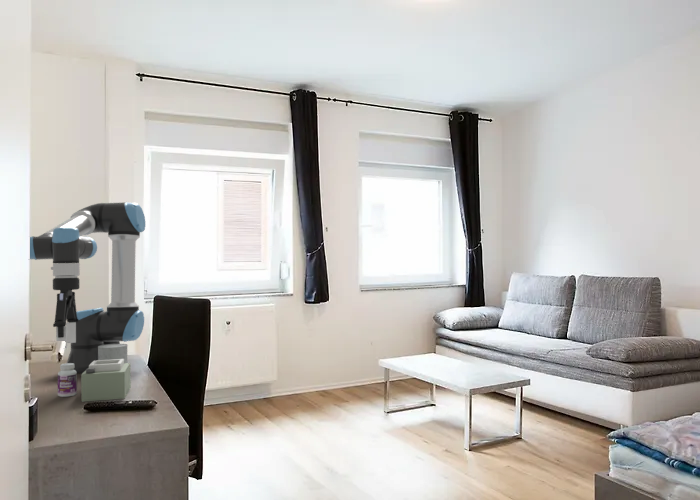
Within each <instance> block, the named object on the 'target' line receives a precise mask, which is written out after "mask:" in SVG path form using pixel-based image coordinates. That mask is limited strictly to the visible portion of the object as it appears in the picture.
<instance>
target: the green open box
mask: <svg viewBox="0 0 700 500" xmlns="http://www.w3.org/2000/svg"><path fill="white" fill-rule="evenodd" d="M80 374H81V375H80V376H81V381H80V383H81V385H80V386H81V389H80V390H81V402H83V403H84V402H94V401H95V402H96V401H97V402H98V401H108V400H109V401H110V400H122V399H123V400H124V399H126V397H127V396H128V394H129V391H130V389H131V387H132V386H131V383H132V382H131V381H132V380H131V362H128V363H124V359H113V360H96V361H93V362H92V363H91V364H90V365H89V368H88V369H86V370H85V371H84V372H82V373H80Z"/></svg>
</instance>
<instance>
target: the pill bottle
mask: <svg viewBox="0 0 700 500" xmlns="http://www.w3.org/2000/svg"><path fill="white" fill-rule="evenodd" d="M59 368H60V370H59V371H58V373H57V396H58V397H61V398H66V397H72V396H73V397H74V396H76V395H77V392H78V389H77V388H78V386H77V385H78V379H77V378H78V376H77V375H78V373H77V372H76V370H73V369H74V363H67V362H65V363H61V364H60V365H59Z"/></svg>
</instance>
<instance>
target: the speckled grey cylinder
mask: <svg viewBox="0 0 700 500" xmlns="http://www.w3.org/2000/svg"><path fill="white" fill-rule="evenodd" d="M128 346H129V345H128V344H127V343H120V344H107V345H101V346H98V360H113V359H124V363H129V362H128V361H129V360H128Z"/></svg>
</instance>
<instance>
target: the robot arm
mask: <svg viewBox="0 0 700 500" xmlns="http://www.w3.org/2000/svg"><path fill="white" fill-rule="evenodd" d="M145 229H146V217H145V214H144V210H143V208H142V206H141V205H140V204H139V203H137V202H129V201H128V202H127V201H126V202H100V203H94V204H91V205H88V206H85V207H83V208H81V209H79V210H76V211H75V212H73V213H72V214H71V216H70V218H69V219H66V220H65V221H64V222H63V221H62V223H60V224H58V225H57V226H54V227H53V228H51V229H49V230H47V231H46V232H44V233H41V234H40V235H38V236H29V237H30V259H29V260H35V261H38V260H52V266H51V267H50V270H52V276H53V278H52V290H53V291H59V293H56V306H55V316H54V322H53V325H52V326H53V328H55V329H56V331H55V332H56V337H55V340H56V341H65V342H66V346H65V348H64V349H67V348H68V344H70V352H69V355H68V358H67V360H66V363H74V369H73V370H76V372H77V374H78V373H80V374H82V373H83V372H84V371H85V370H86V369H88V368H89V365H90V364H91V363H92V362H93V361H96V360H98V346H101V345H103V342H114V341H120V342H123V343H125V342H126V343H127V342H134V341H137V340H138V339H139V338H140V337H141V335H142V333H143V330H144V326H145V315H144V312H143V311H142V310H139V309H140V308H139V307H140V306H139V305H138V303H136V301H135V300H136V297H135V296H136V247H137V246H136V243H137V240H138V239H139V238H140V236H141V233H142V232H144V231H145ZM93 233H94V234H95V233H104V234H105V233H106V234H107V237H108V238H109V239H110V240H111V241H112V242H111V288H110V289H111V290H110V291H111V293H110V297H111V298H110V303H109V304H108V305H107V306H106V310H105V311H104V308H103V307H98V308H90V309H85V310H84V309H83V310H78V311H77V306H76V304H77V303H76V292H75V290H76V291H77V290H79V289H80V278H79V276H80V270H81V269H80V268H81V267H80V260H87V259H90V258H92V257H94V256H95V255H96V253H97V252H98V245H97V242H96V240H95V239H93V238H92V237H90V236H88V235H91V234H93ZM73 290H74V291H73Z"/></svg>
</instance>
